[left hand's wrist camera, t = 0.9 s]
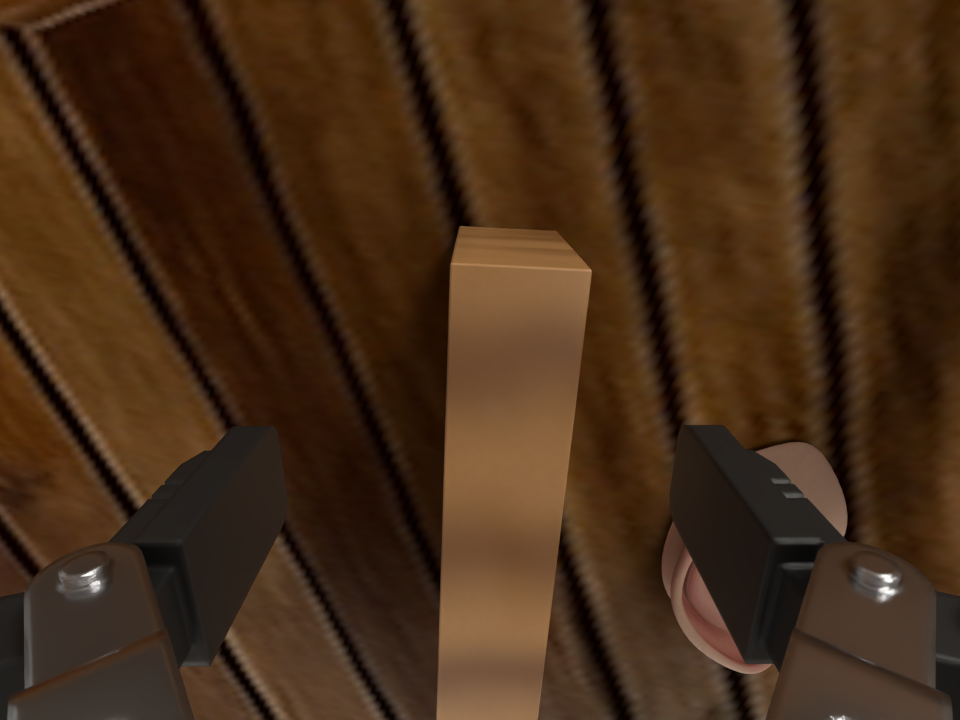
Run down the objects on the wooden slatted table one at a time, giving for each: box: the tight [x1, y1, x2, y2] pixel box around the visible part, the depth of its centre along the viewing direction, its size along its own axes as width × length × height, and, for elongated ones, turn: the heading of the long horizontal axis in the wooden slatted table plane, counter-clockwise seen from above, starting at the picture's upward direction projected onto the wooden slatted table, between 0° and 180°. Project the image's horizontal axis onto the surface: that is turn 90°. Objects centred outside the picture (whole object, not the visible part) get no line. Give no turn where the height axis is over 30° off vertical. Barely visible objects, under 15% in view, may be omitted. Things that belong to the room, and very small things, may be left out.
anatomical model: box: [662, 442, 847, 674], centre depth 33 cm, size 13×4×12 cm
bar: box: [436, 226, 592, 720], centre depth 29 cm, size 24×5×10 cm, turn 177°
